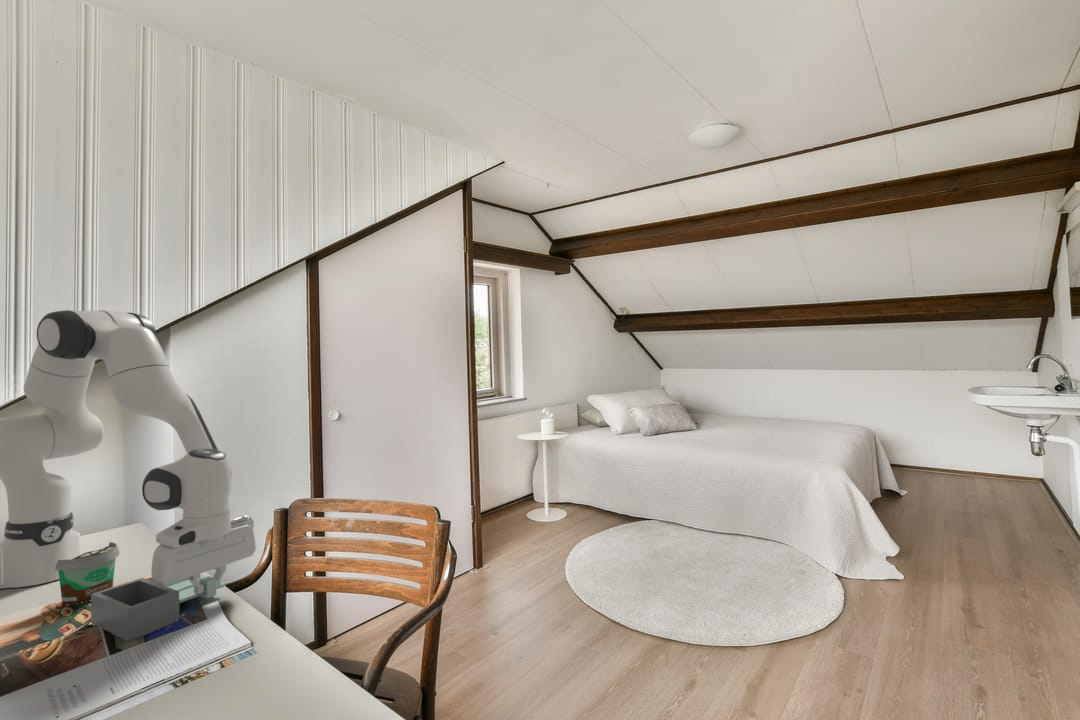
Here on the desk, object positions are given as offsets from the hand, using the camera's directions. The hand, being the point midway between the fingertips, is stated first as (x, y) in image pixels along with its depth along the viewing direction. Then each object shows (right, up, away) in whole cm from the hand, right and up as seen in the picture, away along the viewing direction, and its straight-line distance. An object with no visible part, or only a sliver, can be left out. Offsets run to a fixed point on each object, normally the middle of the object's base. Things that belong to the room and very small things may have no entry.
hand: (207, 590), depth 116 cm
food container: (-27, -3, +4) cm, 28 cm away
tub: (-9, -3, -8) cm, 13 cm away
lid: (-6, -1, +3) cm, 7 cm away
